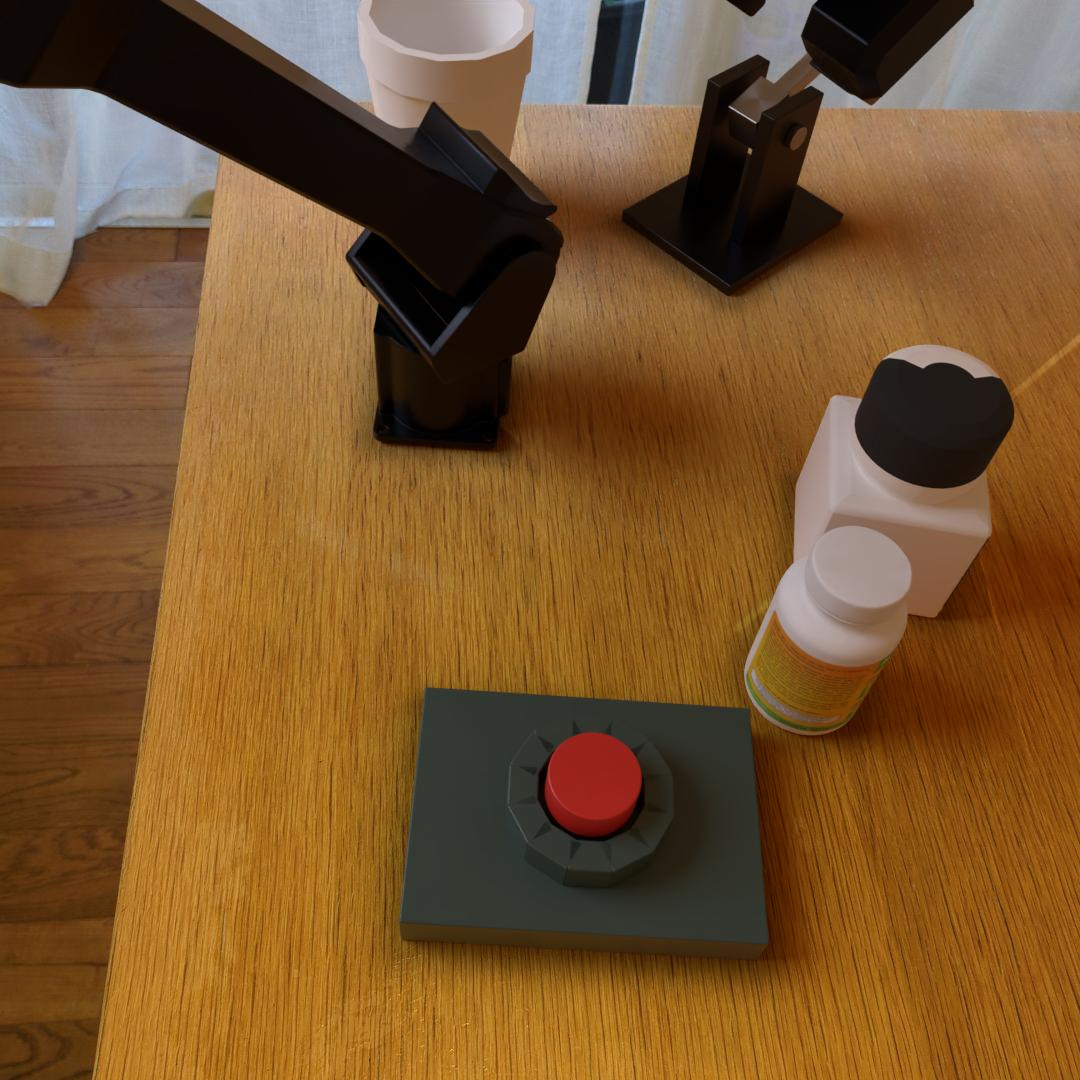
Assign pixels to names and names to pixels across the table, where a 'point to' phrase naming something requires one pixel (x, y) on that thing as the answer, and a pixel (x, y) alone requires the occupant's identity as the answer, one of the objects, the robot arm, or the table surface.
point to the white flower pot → (448, 61)
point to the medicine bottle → (910, 465)
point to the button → (592, 784)
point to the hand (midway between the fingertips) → (815, 51)
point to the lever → (766, 99)
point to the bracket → (739, 189)
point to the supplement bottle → (829, 631)
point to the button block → (574, 860)
